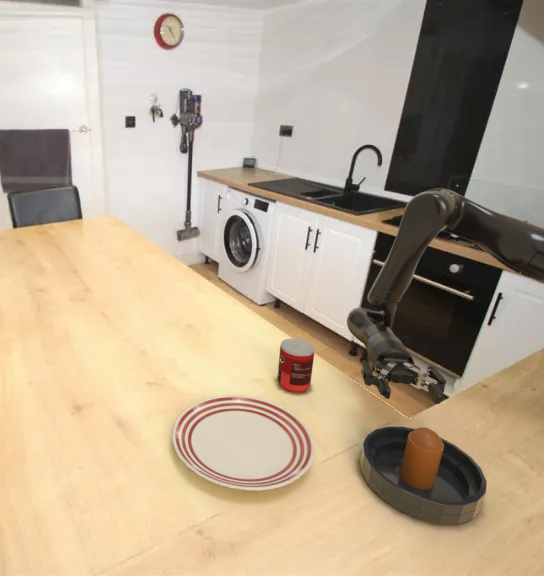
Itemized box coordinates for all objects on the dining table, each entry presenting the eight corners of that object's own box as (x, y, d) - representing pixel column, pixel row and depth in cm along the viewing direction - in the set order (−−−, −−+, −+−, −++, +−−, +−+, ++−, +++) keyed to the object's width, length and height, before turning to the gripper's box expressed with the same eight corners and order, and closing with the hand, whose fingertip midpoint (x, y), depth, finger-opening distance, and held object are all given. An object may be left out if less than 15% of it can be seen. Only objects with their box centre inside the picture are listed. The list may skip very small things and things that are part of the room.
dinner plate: (153, 422, 90) (152, 410, 88) (259, 393, 99) (260, 381, 97) (212, 526, 66) (212, 510, 64) (345, 475, 74) (348, 461, 73)
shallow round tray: (438, 445, 81) (443, 426, 79) (507, 528, 64) (515, 506, 62) (344, 444, 82) (347, 425, 80) (387, 525, 65) (392, 503, 63)
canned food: (286, 372, 107) (290, 335, 103) (315, 384, 102) (320, 345, 98) (270, 384, 102) (274, 345, 98) (300, 398, 97) (305, 357, 93)
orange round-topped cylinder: (423, 467, 75) (435, 421, 71) (440, 490, 70) (453, 441, 67) (394, 467, 75) (404, 420, 72) (409, 490, 71) (420, 441, 67)
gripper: (355, 336, 91) (375, 376, 76) (427, 342, 88) (461, 384, 73) (351, 366, 94) (369, 409, 79) (420, 372, 91) (452, 418, 76)
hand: (413, 397), depth 76 cm, fingers open, 8 cm apart
